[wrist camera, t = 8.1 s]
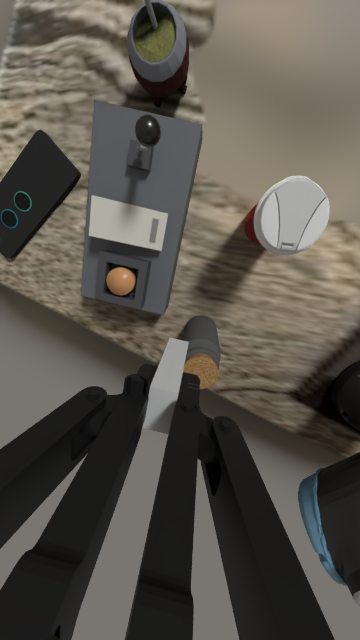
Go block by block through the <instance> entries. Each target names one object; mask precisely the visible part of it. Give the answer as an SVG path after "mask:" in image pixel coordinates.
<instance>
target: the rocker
mask: <svg viewBox="0 0 360 640" xmlns="http://www.w3.org/2000/svg"><path fill="white" fill-rule="evenodd" d="M167 218H168V213H164V212H159V211H155V210H151V209H147V208H143V207H139V206H135V205H131V204H127V203H122V202H118V201H114V200H110V199H106V198H102V197H98V196H94V195H92V197H91V211H90V225H89V236H93V237H98V238H102V239H107V240H112V241H116V242H121V243H126V244H131V245H135V246H140V247H145V248H150V249H154V250H159V251H162V246H163V240H164V234H165V229H166V223H167Z"/></svg>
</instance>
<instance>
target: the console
mask: <svg viewBox="0 0 360 640" xmlns="http://www.w3.org/2000/svg"><path fill="white" fill-rule="evenodd" d="M143 115H151V116H153V117H154V118H156V120H157V121H158V123H159V125H160V128H161V137H160V140H159V142H158V143H157V144H156V145H155V146H154V147H151V148H148V149H147V151H146V153H145V155H144V157H142V158H139V157H137V155H136V153H135V149H136V146H137V142H138V140H137V137H136V134H135V125H136V122H137V120H138V119H139V118H140V117H141V116H143ZM201 144H202V124H198V123H194V122H189V121H185V120H180V119H176V118H171V117H167V116H162V115H158V114H154V113H149V112H145V111H140V110H136V109H131V108H127V107H122V106H118V105H114V104H109V103H105V102H100V101H96V100H94V112H93V126H92V141H91V156H90V171H89V186H88V200H87V215H86V230H85V245H84V260H83V274H82V289H81V296H84V297H89V298H93V299H97V300H101V301H105V302H110V303H114V304H118V305H122V306H127V307H131V308H135V309H139V310H144V311H148V312H152V313H157V314H161V315H164V313H165V311H166V309H167V307H168V304H169V299H170V294H171V289H172V284H173V279H174V274H175V270H176V265H177V260H178V255H179V250H180V245H181V241H182V236H183V231H184V226H185V221H186V216H187V212H188V207H189V202H190V197H191V192H192V187H193V182H194V178H195V173H196V168H197V163H198V158H199V153H200V148H201ZM92 195H94V196H98V197H102V198H106V199H110V200H114V201H118V202H122V203H127V204H131V205H135V206H139V207H143V208H147V209H151V210H155V211H159V212H164V213H168V218H167V223H166V229H165V234H164V240H163V246H162V251H159V250H154V249H150V248H145V247H140V246H135V245H131V244H126V243H121V242H116V241H112V240H107V239H102V238H98V237H93V236H89V225H90V211H91V197H92ZM121 266H126V267H129V268H131V269H132V270H133V271H134V272H135V273H136V275H137V285H136V287H135V288H134V289H133V290H132V291H130V292H129V293H128V294H126V295H116V294H114V293H113V292H111V291H110V289H109V288H108V286H107V282H106V279H107V275H108V273H109V272H110V271H111V270H113V269H115V268H118V267H121Z"/></svg>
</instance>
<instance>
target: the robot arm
mask: <svg viewBox="0 0 360 640" xmlns="http://www.w3.org/2000/svg"><path fill="white" fill-rule="evenodd" d="M188 344H189V342H187V341H183V340H178V339H174V338H170V339H169V341H168V344H167V346H166V349H165V351H164V354H163V356H162V359H161V361H160V363H159V366H153V365H149V364H144V365H143V366H141V367H140V369H139V371H138V372H137V374H132V375H130V376H127V377H126V378H125V382H124V389H123V393H122V394H119V395H107V392H106V391H105V390H104V389H103V388H101V387H96V386H92V387H87V388H85V389H83V390H82V391H80V392H79V393H77V394H76V395H75V396H73V397H72V398H71V399H69V400H68V401H66V402H65V403H64V404H62V405H61V406H60V407H58V408H57V409H55V410H54V411H53V412H51V413H50V414H49V415H47V416H46V417H44V418H43V419H42V420H40V421H39V422H37V423H36V424H35V425H33V426H32V427H30V428H29V429H28V430H26V431H25V432H24V433H22V434H21V435H19V436H18V437H17V438H15V439H14V440H13V441H11V442H10V443H8V444H7V445H6V446H4V447H3V448H1V449H0V549H1V547H2V546H3V545H4V544H5V543H6V542H7V541H8V540H9V539H10V538H11V537H12V535H13V534H14V533H15V532H16V531H17V530H18V529H19V528H20V527H21V526H22V524H23V523H24V522H25V521H26V520H27V519H28V518H29V517H30V516H31V515H32V513H33V512H34V511H35V510H36V509H37V508H38V507H39V506H40V505H41V504H42V503H43V501H44V500H45V499H46V498H47V497H48V496H49V495H50V494H51V493H52V492H53V490H54V489H55V488H56V487H57V486H58V485H59V484H60V483H61V482H62V481H63V480H64V478H65V477H66V476H67V475H68V474H69V473H70V472H71V471H72V470H73V469H74V467H75V466H76V465H77V464H78V463H79V462H80V461H81V460H82V459H83V458H84V457H85V455H86V454H87V453H88V454H87V456H86V458H85V459H84V461H83V463H82V465H81V466H80V468H79V470H78V472H77V473H76V475H75V477H74V479H73V480H72V482H71V484H70V486H69V487H68V489H67V491H66V493H65V494H64V496H63V498H62V500H61V501H60V503H59V505H58V507H57V509H56V510H55V512H54V514H53V515H52V517H51V519H50V521H49V523H48V524H47V526H46V528H45V529H44V531H43V533H42V535H41V537H40V539H39V540H38V542H37V543H36V545H35V546H34V547H33V549H31V550H29V551H27V552H25V553H24V555H23V556H22V557H21V558H20V559H19V561H18V562H17V564H16V565H15V567H14V568H13V570H12V572H11V573H10V575H9V577H8V578H7V580H6V582H5V584H4V585H3V587H2V588H1V590H0V640H71V638H72V635H73V631H74V627H75V624H76V620H77V616H78V613H79V610H80V607H81V604H82V601H83V598H84V596H85V593H86V590H87V587H88V584H89V581H90V578H91V576H92V573H93V570H94V567H95V564H96V561H97V558H98V555H99V553H100V550H101V547H102V544H103V541H104V538H105V536H106V533H107V530H108V527H109V524H110V521H111V518H112V516H113V513H114V510H115V507H116V504H117V501H118V498H119V495H120V493H121V490H122V487H123V484H124V481H125V478H126V475H127V473H128V470H129V467H130V464H131V461H132V458H133V456H134V453H135V449H136V447H137V444H138V441H139V438H140V435H141V430H142V426H143V428H146V429H150V430H154V431H158V432H162V433H166V434H169V435H168V439H167V444H166V448H165V454H164V458H163V463H162V467H161V472H160V477H159V482H158V486H157V491H156V496H155V501H154V505H153V510H152V515H151V520H150V524H149V529H148V533H147V538H146V543H145V547H144V552H143V557H142V562H141V566H140V571H139V576H138V580H137V585H136V590H135V595H134V599H133V604H132V609H131V613H130V618H129V623H128V628H127V632H126V637H125V640H192V638H193V637H192V636H193V597H192V594H191V570H192V551H193V533H194V514H195V495H196V477H197V458H198V459H199V460H201V466H202V470H203V475H204V480H205V484H206V489H207V493H208V498H209V503H210V507H211V512H212V516H213V521H214V525H215V530H216V535H217V539H218V544H219V548H220V553H221V558H222V562H223V566H224V571H225V576H226V580H227V585H228V590H229V594H230V599H231V603H232V608H233V612H234V617H235V621H236V626H237V631H238V635H239V640H334V637H333V635H332V633H331V631H330V629H329V626H328V624H327V622H326V620H325V618H324V615H323V613H322V611H321V608H320V606H319V604H318V602H317V600H316V597H315V595H314V593H313V591H312V589H311V586H310V584H309V582H308V580H307V577H306V575H305V573H304V571H303V569H302V566H301V564H300V562H299V560H298V558H297V555H296V553H295V551H294V549H293V546H292V544H291V542H290V540H289V538H288V535H287V533H286V531H285V529H284V527H283V524H282V522H281V520H280V518H279V515H278V513H277V511H276V509H275V507H274V504H273V502H272V500H271V498H270V496H269V493H268V491H267V489H266V487H265V484H264V482H263V480H262V478H261V476H260V474H259V471H258V469H257V467H256V465H255V462H254V460H253V458H252V456H251V454H250V451H249V449H248V447H247V445H246V442H245V440H244V438H243V436H242V434H241V432H240V429H239V427H238V425H237V424H236V423H235V422H234V421H233V420H232V419H230V418H228V417H225V416H217V417H215V418H214V420H213V419H211V418H209V417H207V416H206V415H204V414H203V413H202V412H201V410H200V407H199V389H200V379H199V377H198V375H195V374H190V373H186V372H183V369H184V364H185V359H186V354H187V349H188ZM332 402H333V405H334V407H335V408H336V410H337V411H338V412H339V414H340V415H341V416H342V418H343V419H344V420H345V421H347V422H348V423H349V424H351V425H352V426H354V427H355V428H357V429H358V430H360V361H358V362H356V363H354V364H353V365H351V366H349V367H348V368H347V369H346V370H344V371H343V372H342V373H341V374H340V376H339V377H338V378H337V380H336V381H335V383H334V386H333V389H332ZM298 500H299V507H300V512H301V516H302V519H303V522H304V525H305V528H306V531H307V534H308V536H309V539H310V541H311V543H312V546H313V548H314V550H315V552H317V553H318V555H319V558H320V561H321V563H322V565H323V567H324V568H325V570H326V571H327V573H328V574H329V575H330V576H331V578H332V579H333V580H334V581H336V582H337V583H339V584H343V585H345V586H348V588H349V590H350V592H351V594H352V596H353V598H354V600H355V602H356V603H357V604H358V605H359V606H360V452H359V453H357V454H355V455H353V456H350V457H348V458H346V459H344V460H342V461H339V462H337V463H335V464H333V465H330V466H328V467H326V468H323V469H319V470H317V472H316V473H315V474H313V475H311V476H309V477H307V478H306V479H304V480H303V481H302V482H301V483H300V486H299V491H298Z"/></svg>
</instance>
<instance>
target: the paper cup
mask: <svg viewBox="0 0 360 640" xmlns="http://www.w3.org/2000/svg"><path fill="white" fill-rule="evenodd" d="M329 212H330V208H329V201H328V198H327V196H326V195H325V193H324V191H323V190H322V189H321V187H320V186H319V185H318V184H316V183H315V182H313V181H312V180H310V179H309V178H308V177H305V176H290V177H287V178H285V179H284V180H282V181H280V182H278V183H276V184H275V185H273V186H272V187H271V188H269V189H268V190H267V191H266V193H265V194H264V195H263V196H262V198H261V199H260V201H259V203H258V204H257V205H256V206H255V207H254V208H253V209H252V210H251V211H250V212H249V213H248V215H247V217H246V219H245V225H244V227H245V232H246V234H247V236H248V237H249V238H250V239H251V240H252V241H254V242H256V243H258V244H260V245H262V246H263V247H264V248H266V249H267V250H269V251H270V252H272V253H275V254H279V255H292V254H296V253H299V252H301V251H304V250H305V249H307V248H308V247H310V246H311V245H312V244H313V243H314V242H315V241H316V240H317V239H318V238H319V237H320V235H321V234H322V233H323V231H324V229H325V227H326V225H327V222H328V219H329Z"/></svg>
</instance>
